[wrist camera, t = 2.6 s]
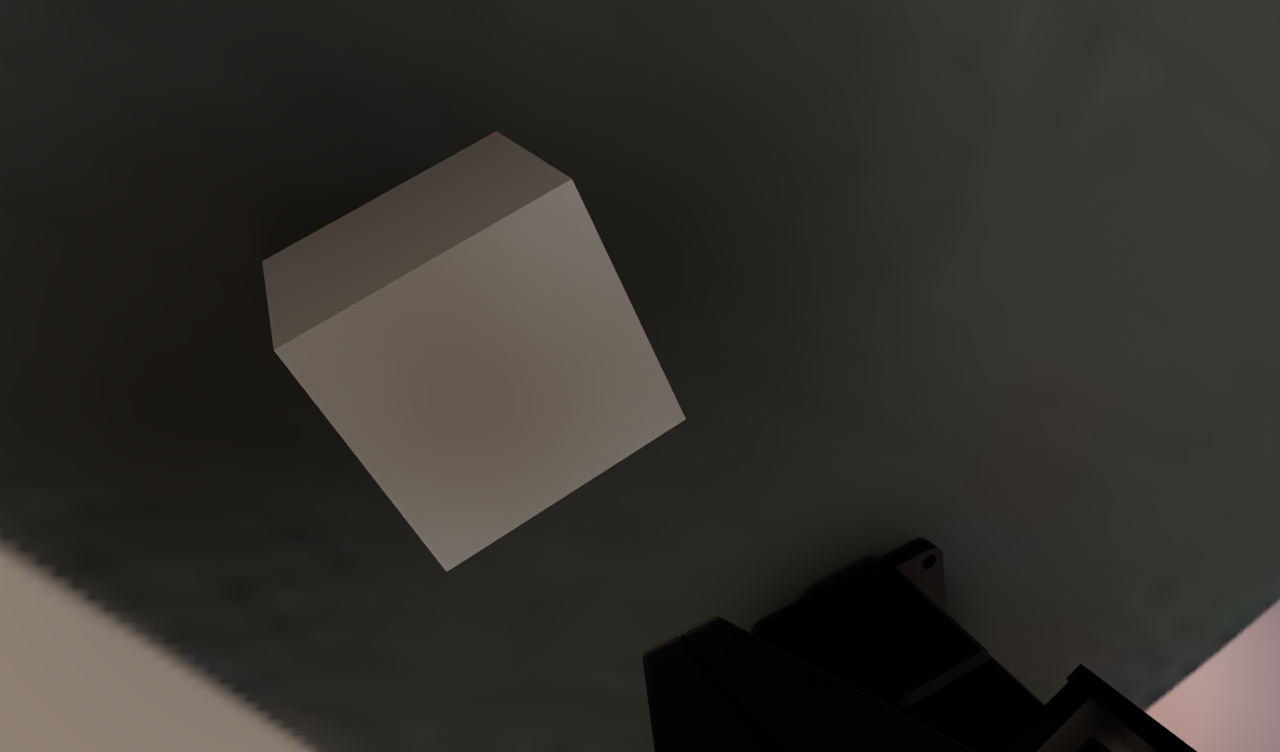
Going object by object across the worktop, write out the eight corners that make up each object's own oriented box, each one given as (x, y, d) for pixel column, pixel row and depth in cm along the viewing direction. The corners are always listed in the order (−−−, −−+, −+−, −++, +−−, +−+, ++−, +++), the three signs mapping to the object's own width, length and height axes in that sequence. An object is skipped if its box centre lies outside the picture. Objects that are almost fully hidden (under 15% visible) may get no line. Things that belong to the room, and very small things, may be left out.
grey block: (598, 331, 20) (685, 419, 16) (402, 450, 19) (446, 571, 15) (495, 130, 17) (571, 179, 13) (262, 260, 16) (273, 350, 12)
